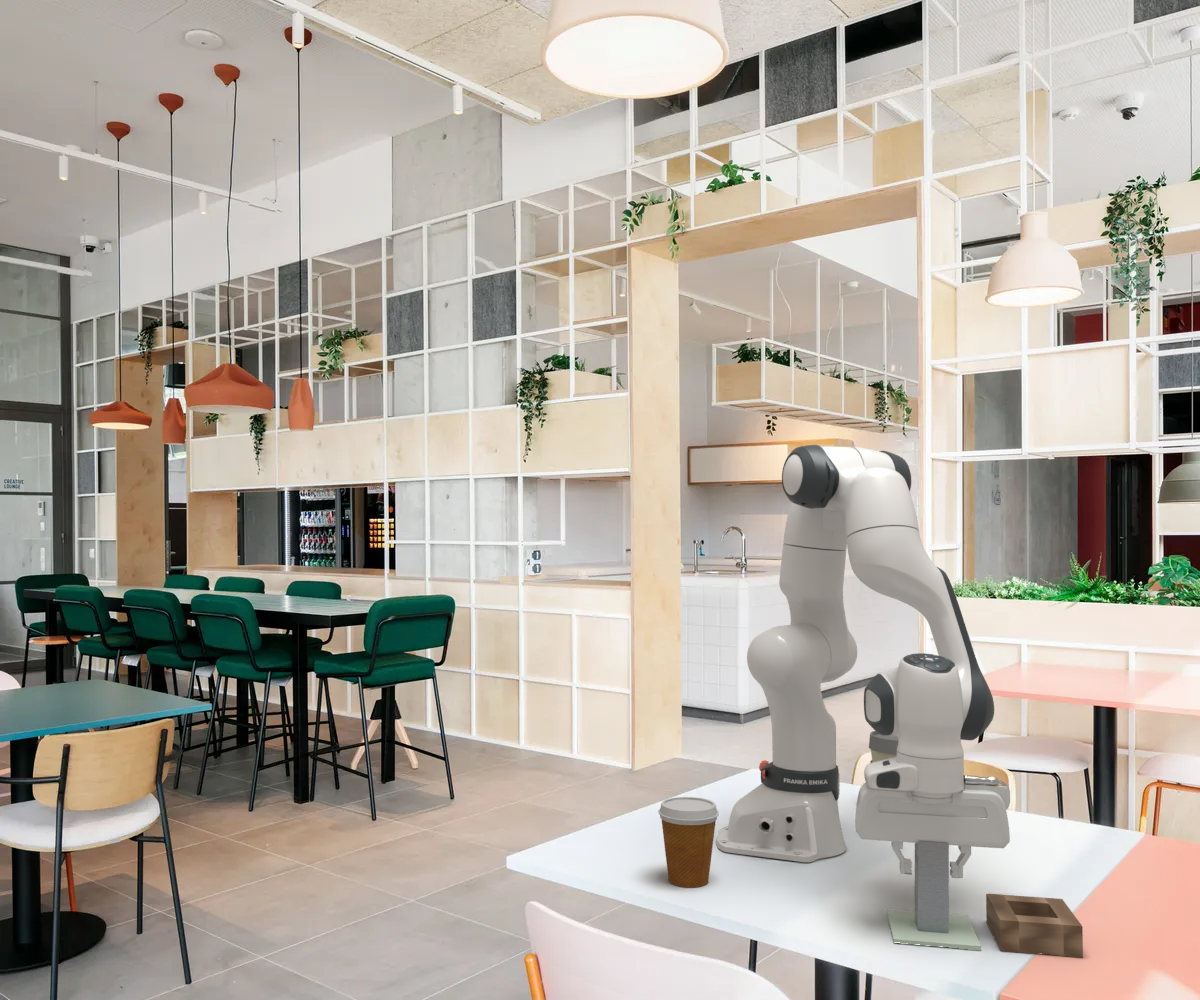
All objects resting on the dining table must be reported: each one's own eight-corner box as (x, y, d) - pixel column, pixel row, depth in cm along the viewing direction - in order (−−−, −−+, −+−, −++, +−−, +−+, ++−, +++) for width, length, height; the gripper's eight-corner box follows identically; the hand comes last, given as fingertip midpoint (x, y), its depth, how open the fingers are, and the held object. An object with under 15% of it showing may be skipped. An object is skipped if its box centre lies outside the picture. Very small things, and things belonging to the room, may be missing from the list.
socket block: (1000, 951, 128) (1000, 919, 129) (986, 922, 138) (986, 893, 138) (1082, 957, 126) (1082, 926, 127) (1062, 928, 136) (1062, 898, 136)
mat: (893, 943, 131) (893, 939, 131) (886, 913, 141) (886, 909, 141) (981, 950, 128) (981, 946, 128) (967, 919, 139) (967, 915, 139)
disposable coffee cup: (654, 871, 159) (654, 796, 159) (712, 870, 160) (712, 795, 160) (662, 892, 149) (663, 812, 150) (724, 890, 150) (724, 811, 151)
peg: (917, 930, 133) (917, 841, 134) (914, 919, 137) (914, 832, 138) (948, 933, 133) (948, 843, 133) (944, 922, 136) (944, 834, 137)
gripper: (1005, 772, 137) (1006, 873, 136) (853, 764, 141) (854, 862, 140) (1014, 783, 131) (1016, 888, 130) (856, 775, 135) (857, 877, 134)
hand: (930, 875), depth 135 cm, fingers open, 5 cm apart
